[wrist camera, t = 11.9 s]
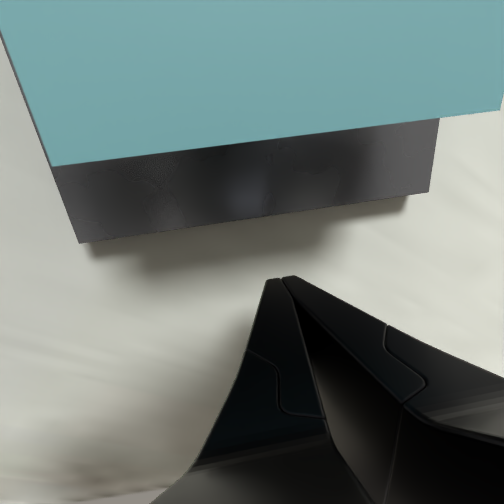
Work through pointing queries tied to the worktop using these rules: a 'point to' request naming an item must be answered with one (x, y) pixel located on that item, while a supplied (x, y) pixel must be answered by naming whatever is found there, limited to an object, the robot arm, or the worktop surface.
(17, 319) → the worktop surface
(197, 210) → the vise
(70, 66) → the slide jaw
